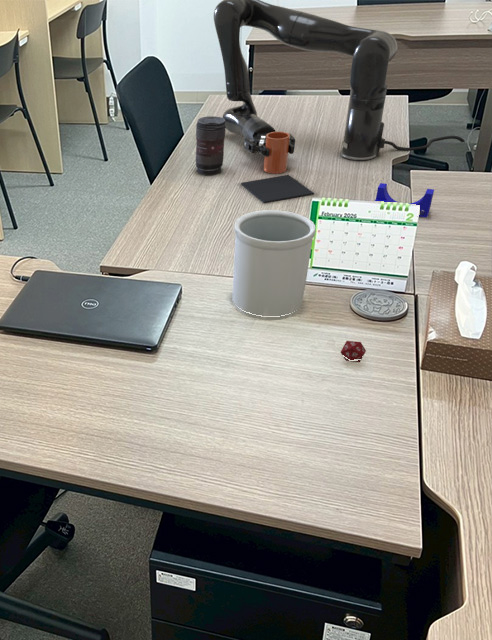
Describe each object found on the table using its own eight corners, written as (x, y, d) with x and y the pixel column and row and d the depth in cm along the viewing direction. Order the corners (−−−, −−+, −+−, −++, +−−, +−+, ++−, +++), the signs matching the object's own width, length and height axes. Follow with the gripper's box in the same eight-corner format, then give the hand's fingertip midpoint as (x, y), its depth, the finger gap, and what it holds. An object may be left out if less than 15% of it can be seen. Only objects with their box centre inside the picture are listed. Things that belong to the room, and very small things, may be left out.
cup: (280, 164, 205) (283, 130, 199) (290, 171, 200) (294, 136, 194) (259, 167, 204) (262, 133, 199) (269, 175, 199) (272, 140, 194)
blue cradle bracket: (372, 212, 174) (376, 189, 171) (376, 205, 177) (380, 183, 174) (425, 220, 168) (431, 196, 165) (429, 212, 171) (434, 189, 168)
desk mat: (288, 176, 197) (288, 174, 197) (313, 194, 186) (313, 192, 186) (241, 184, 196) (241, 182, 195) (263, 203, 184) (264, 201, 184)
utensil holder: (254, 277, 153) (261, 202, 144) (318, 298, 144) (330, 220, 134) (215, 306, 145) (219, 229, 136) (280, 330, 136) (289, 249, 126)
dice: (335, 355, 128) (338, 337, 126) (360, 353, 128) (364, 335, 126) (342, 367, 125) (345, 349, 123) (368, 366, 125) (371, 347, 122)
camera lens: (225, 174, 202) (228, 123, 194) (197, 177, 203) (198, 125, 194) (220, 164, 209) (223, 114, 201) (193, 167, 209) (194, 116, 201)
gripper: (235, 124, 208) (256, 142, 194) (283, 117, 209) (306, 135, 195) (234, 148, 212) (254, 168, 199) (280, 142, 213) (303, 161, 199)
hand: (280, 151), depth 197 cm, fingers closed on cup, 6 cm apart
